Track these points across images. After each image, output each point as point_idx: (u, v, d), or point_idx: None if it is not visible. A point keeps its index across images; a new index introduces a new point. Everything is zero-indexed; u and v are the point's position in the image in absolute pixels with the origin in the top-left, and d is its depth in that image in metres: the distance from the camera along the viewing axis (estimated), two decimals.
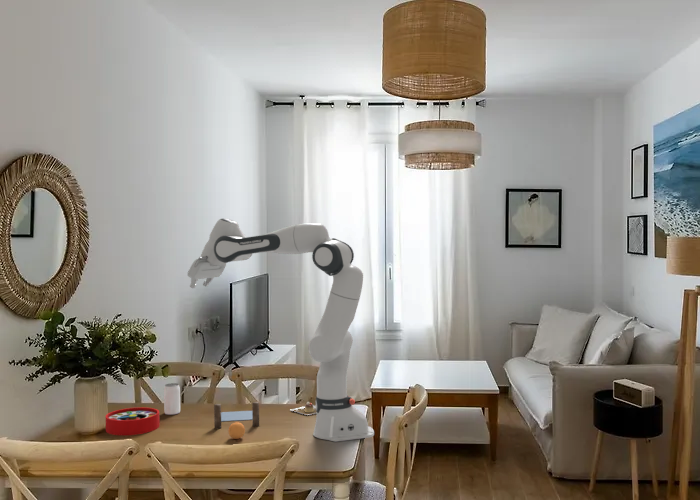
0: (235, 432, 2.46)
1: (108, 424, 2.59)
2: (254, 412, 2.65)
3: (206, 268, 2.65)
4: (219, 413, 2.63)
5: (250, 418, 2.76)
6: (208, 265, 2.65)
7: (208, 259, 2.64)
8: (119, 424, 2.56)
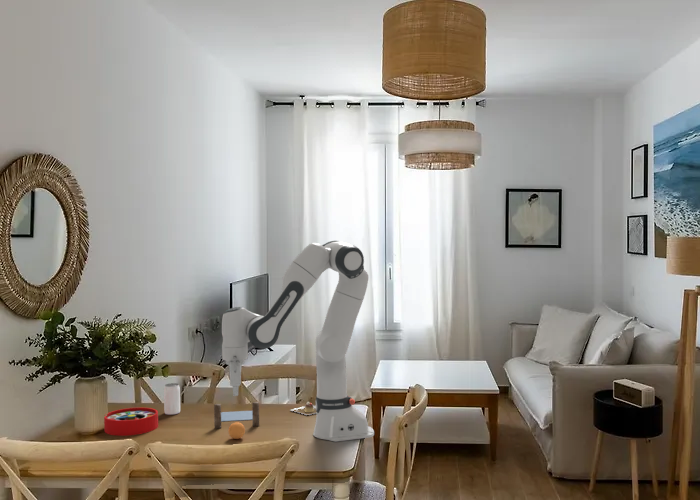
0: (235, 432, 2.46)
1: (107, 424, 2.58)
2: (254, 412, 2.65)
3: None
4: (219, 413, 2.63)
5: (250, 418, 2.76)
6: (240, 364, 2.35)
7: (238, 358, 2.34)
8: (117, 424, 2.56)
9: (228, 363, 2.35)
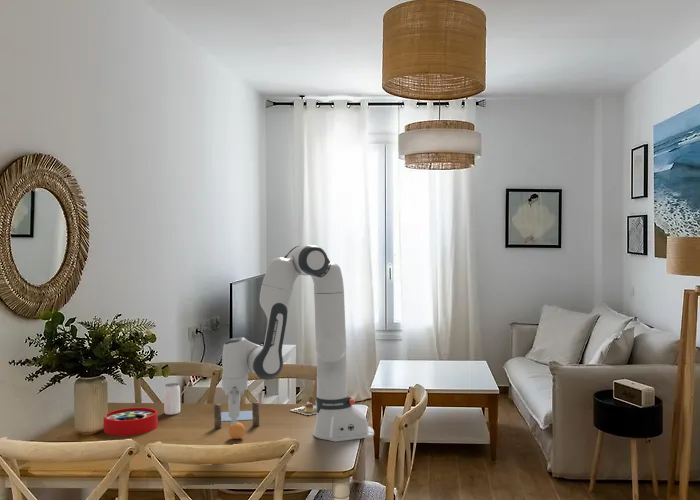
0: (235, 432, 2.46)
1: (106, 424, 2.58)
2: (254, 412, 2.65)
3: None
4: (219, 413, 2.63)
5: (250, 418, 2.76)
6: (239, 395, 2.35)
7: (237, 389, 2.34)
8: (117, 424, 2.56)
9: (227, 393, 2.35)
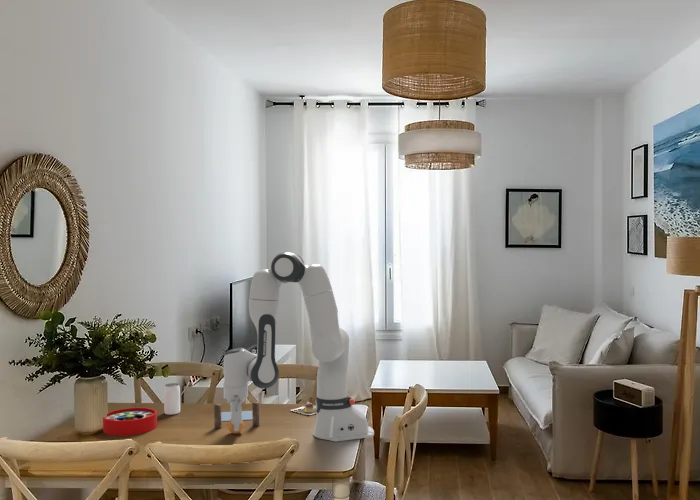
0: None
1: (105, 424, 2.58)
2: (254, 412, 2.65)
3: None
4: (219, 413, 2.63)
5: (250, 418, 2.76)
6: None
7: (239, 397, 2.47)
8: (116, 424, 2.56)
9: (229, 402, 2.48)
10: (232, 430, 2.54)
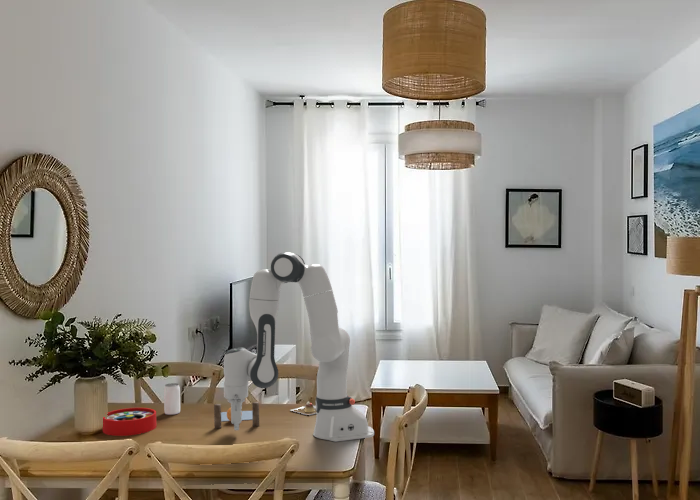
0: None
1: (105, 424, 2.58)
2: (254, 412, 2.65)
3: None
4: (219, 413, 2.63)
5: (250, 418, 2.76)
6: (241, 402, 2.49)
7: (239, 396, 2.48)
8: (115, 424, 2.55)
9: (229, 401, 2.50)
10: None
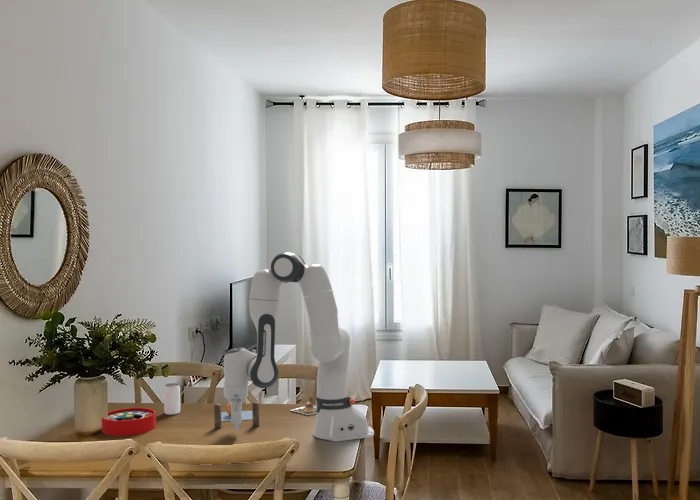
0: None
1: (104, 424, 2.58)
2: (254, 412, 2.65)
3: None
4: (219, 413, 2.63)
5: (250, 418, 2.76)
6: (241, 402, 2.49)
7: (239, 396, 2.48)
8: (115, 424, 2.55)
9: (229, 401, 2.50)
10: None
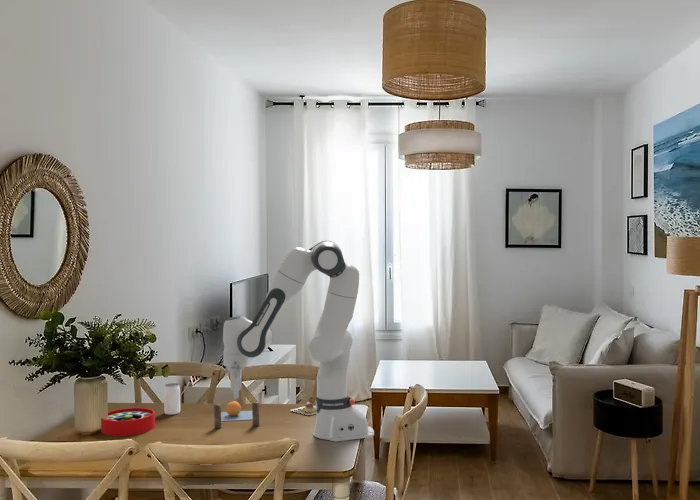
0: None
1: (103, 424, 2.58)
2: (254, 412, 2.65)
3: None
4: (219, 413, 2.63)
5: (250, 418, 2.76)
6: (240, 370, 2.49)
7: (238, 364, 2.48)
8: (114, 424, 2.55)
9: (229, 369, 2.49)
10: (230, 402, 2.82)
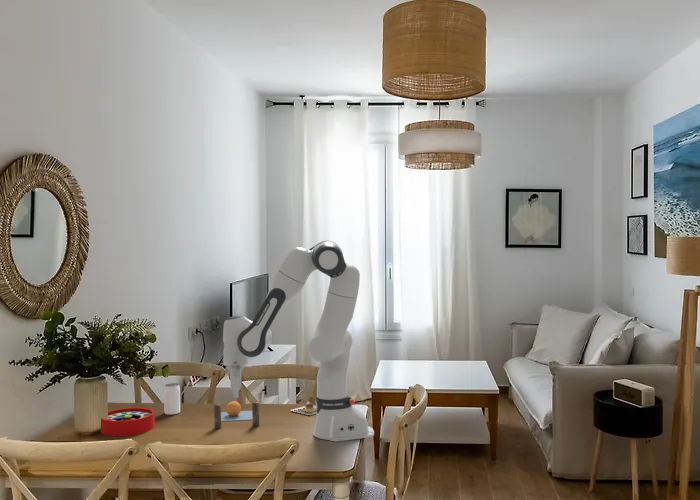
0: None
1: (103, 425, 2.58)
2: (254, 412, 2.65)
3: None
4: (219, 413, 2.63)
5: (250, 418, 2.76)
6: (240, 369, 2.49)
7: (238, 363, 2.48)
8: (113, 424, 2.55)
9: (229, 368, 2.49)
10: (230, 402, 2.82)
